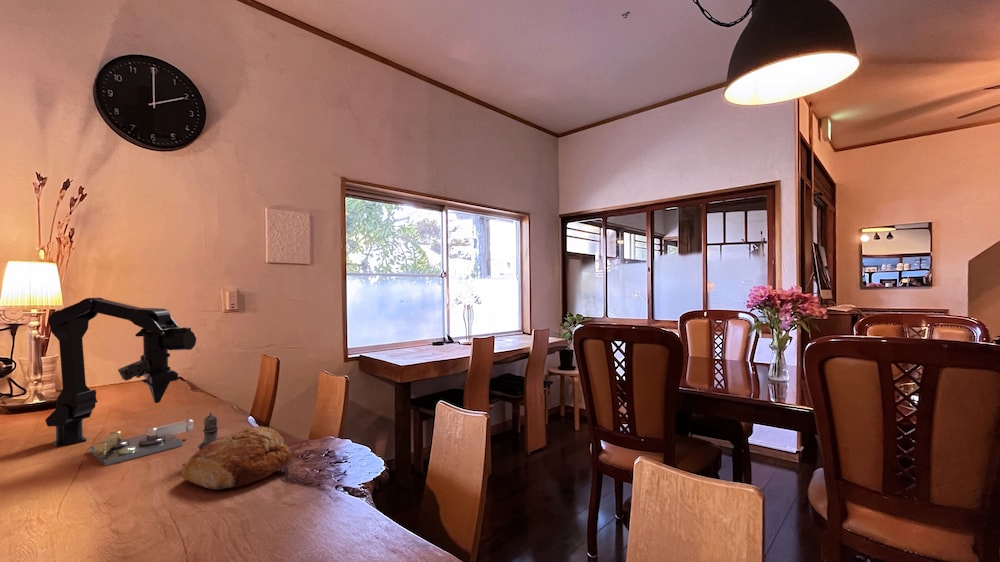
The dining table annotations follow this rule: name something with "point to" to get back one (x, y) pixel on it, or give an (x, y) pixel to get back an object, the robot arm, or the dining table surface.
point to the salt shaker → (209, 430)
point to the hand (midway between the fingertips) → (157, 402)
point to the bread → (238, 459)
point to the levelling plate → (136, 449)
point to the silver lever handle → (165, 432)
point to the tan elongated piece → (110, 443)
